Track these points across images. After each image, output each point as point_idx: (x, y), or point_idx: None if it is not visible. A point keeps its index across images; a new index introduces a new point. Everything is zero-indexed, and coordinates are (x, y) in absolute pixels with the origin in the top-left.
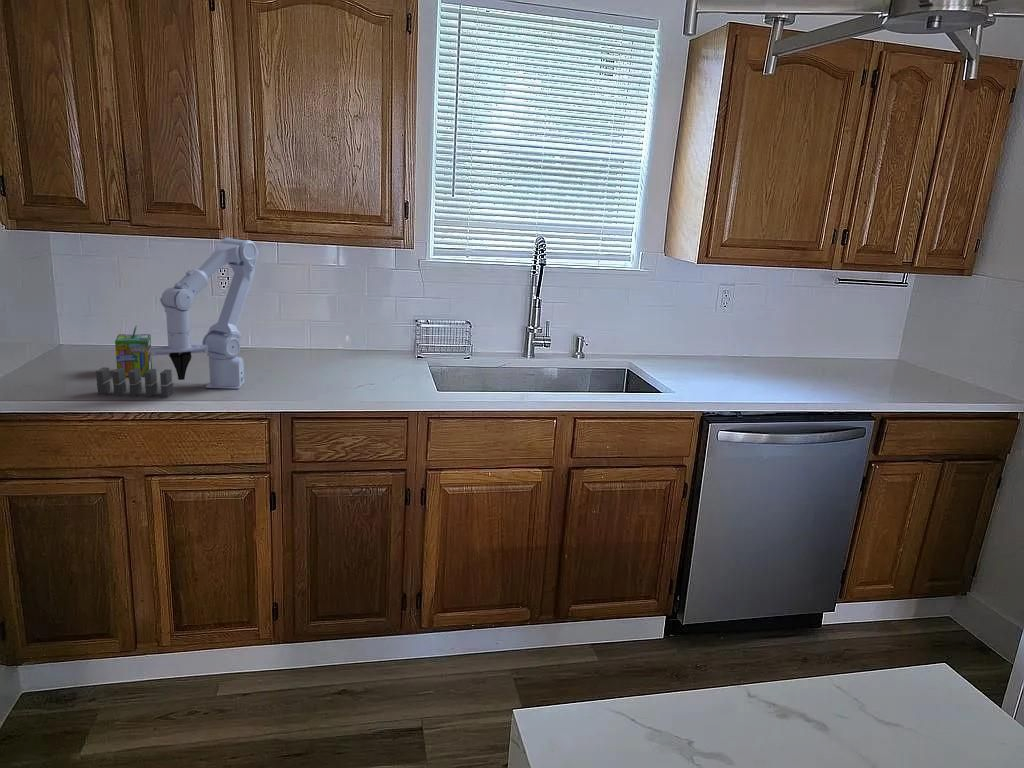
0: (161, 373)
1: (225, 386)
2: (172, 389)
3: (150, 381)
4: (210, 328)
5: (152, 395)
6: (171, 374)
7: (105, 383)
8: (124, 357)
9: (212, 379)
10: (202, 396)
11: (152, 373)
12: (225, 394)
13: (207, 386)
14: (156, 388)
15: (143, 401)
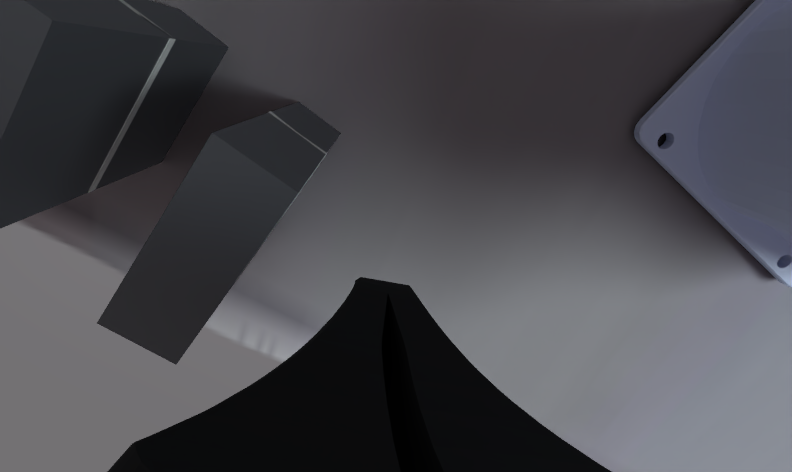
0: (117, 332)
1: (750, 220)
2: (335, 140)
3: (52, 201)
4: None
5: (160, 154)
6: (308, 178)
7: None
8: None
9: (746, 153)
10: (487, 319)
11: (9, 177)
12: (630, 346)
13: (648, 142)
14: (196, 66)
15: (86, 242)
